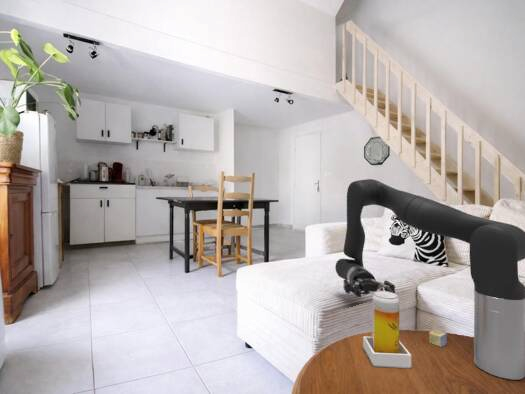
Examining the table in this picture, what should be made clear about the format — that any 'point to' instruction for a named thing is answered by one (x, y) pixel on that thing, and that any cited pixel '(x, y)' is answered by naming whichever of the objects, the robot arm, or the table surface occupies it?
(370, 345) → the white square tray
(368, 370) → the table surface
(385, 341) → the beer can
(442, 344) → the alphabet block
